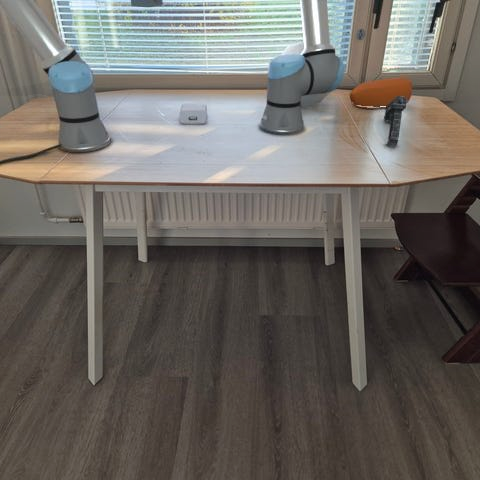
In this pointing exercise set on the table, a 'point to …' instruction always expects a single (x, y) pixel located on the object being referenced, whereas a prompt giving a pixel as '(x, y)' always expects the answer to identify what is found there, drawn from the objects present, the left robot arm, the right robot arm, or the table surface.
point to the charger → (193, 113)
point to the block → (146, 3)
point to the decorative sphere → (306, 99)
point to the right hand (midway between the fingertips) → (402, 30)
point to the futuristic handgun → (395, 118)
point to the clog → (381, 92)
